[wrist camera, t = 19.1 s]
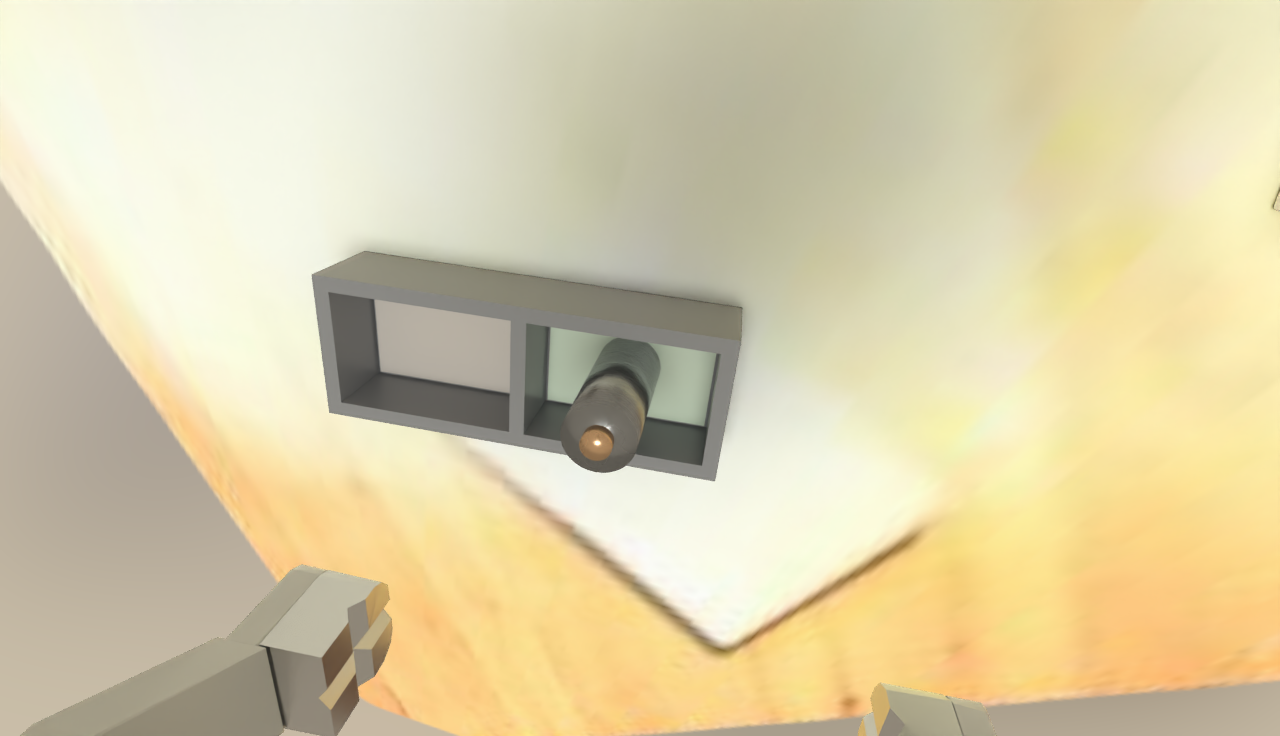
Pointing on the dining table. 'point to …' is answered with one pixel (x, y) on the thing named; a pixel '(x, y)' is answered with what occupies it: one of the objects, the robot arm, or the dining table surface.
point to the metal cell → (612, 406)
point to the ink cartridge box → (1277, 203)
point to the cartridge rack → (517, 355)
